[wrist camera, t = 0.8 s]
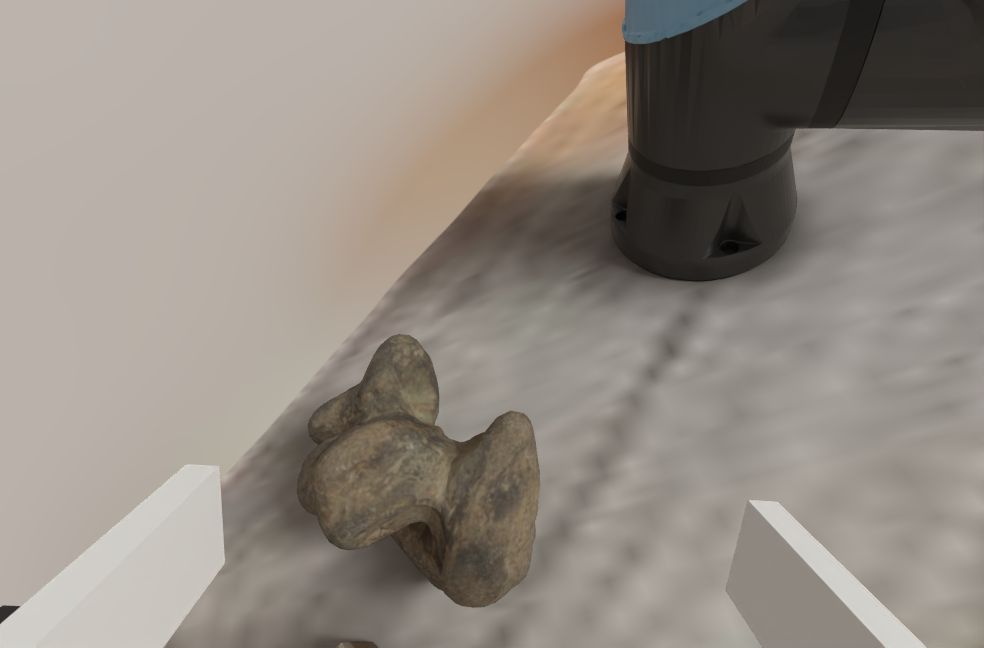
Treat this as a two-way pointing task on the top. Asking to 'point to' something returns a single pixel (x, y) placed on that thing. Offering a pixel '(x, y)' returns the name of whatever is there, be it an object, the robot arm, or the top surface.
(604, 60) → the top surface
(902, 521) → the top surface
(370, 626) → the top surface
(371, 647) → the block
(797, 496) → the top surface
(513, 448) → the decorative stone
